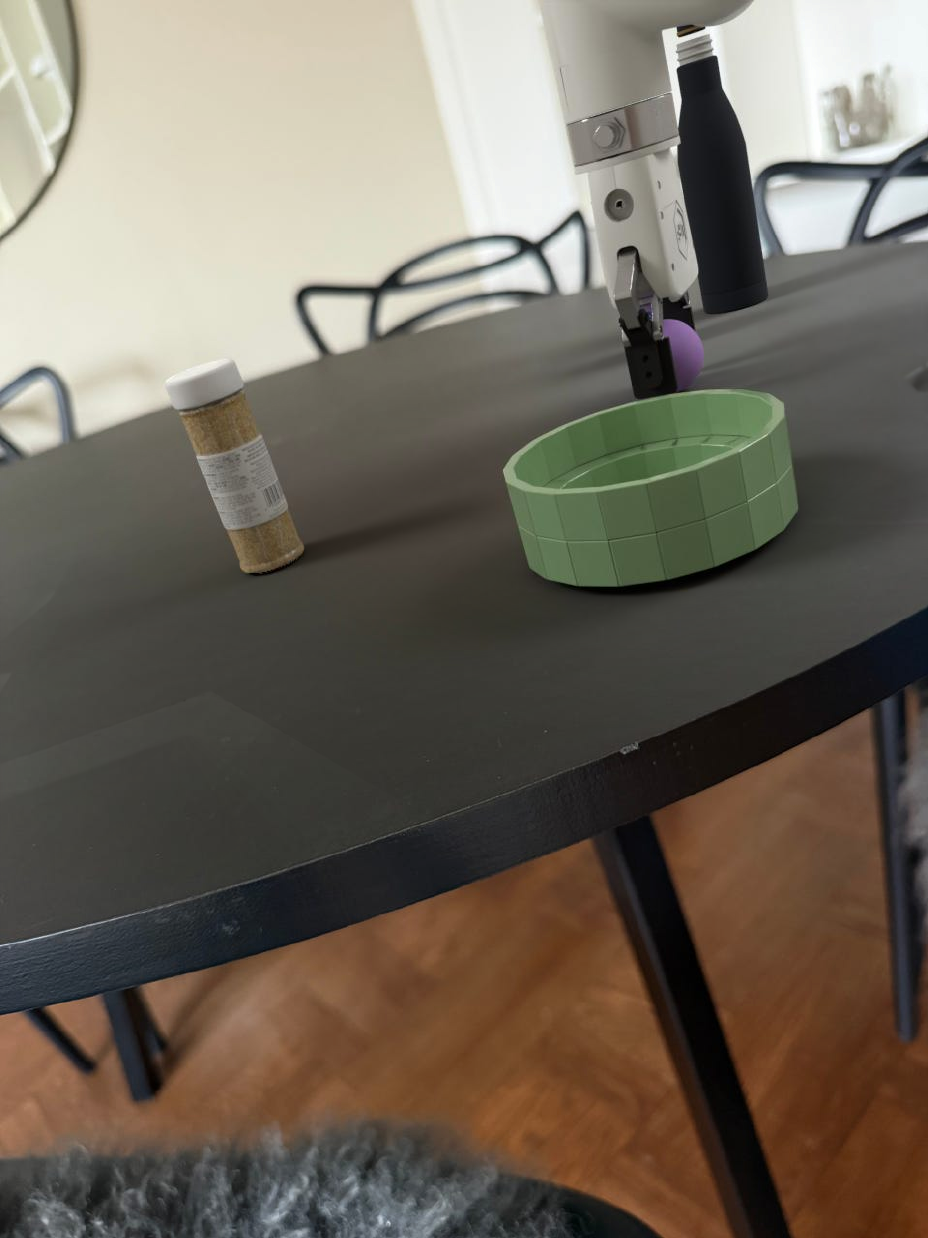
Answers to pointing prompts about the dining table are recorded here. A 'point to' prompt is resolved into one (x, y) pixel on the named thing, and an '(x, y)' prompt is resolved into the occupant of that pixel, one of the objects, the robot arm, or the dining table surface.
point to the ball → (684, 352)
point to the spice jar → (236, 464)
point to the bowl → (654, 488)
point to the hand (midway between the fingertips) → (668, 376)
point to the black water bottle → (716, 183)
